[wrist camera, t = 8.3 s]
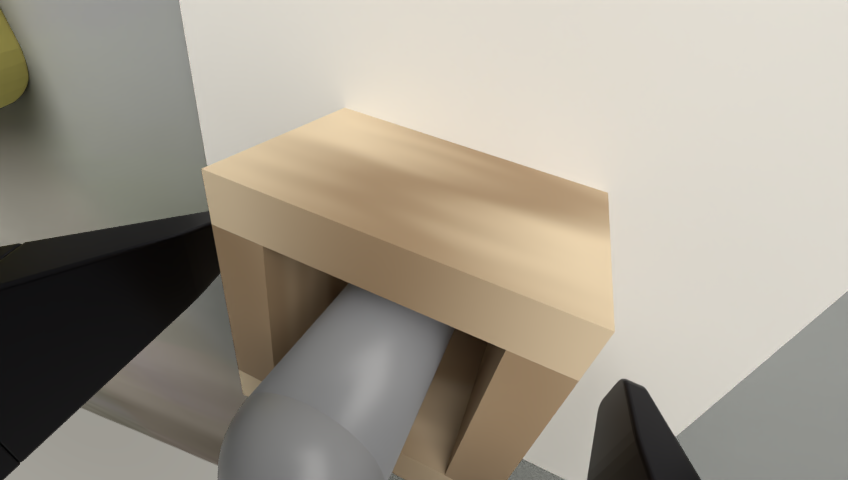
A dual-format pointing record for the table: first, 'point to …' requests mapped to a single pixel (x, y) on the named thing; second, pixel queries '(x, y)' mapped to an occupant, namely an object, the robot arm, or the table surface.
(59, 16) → the table surface
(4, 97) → the plastic component
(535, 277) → the collar
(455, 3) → the post plate
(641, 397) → the robot arm
